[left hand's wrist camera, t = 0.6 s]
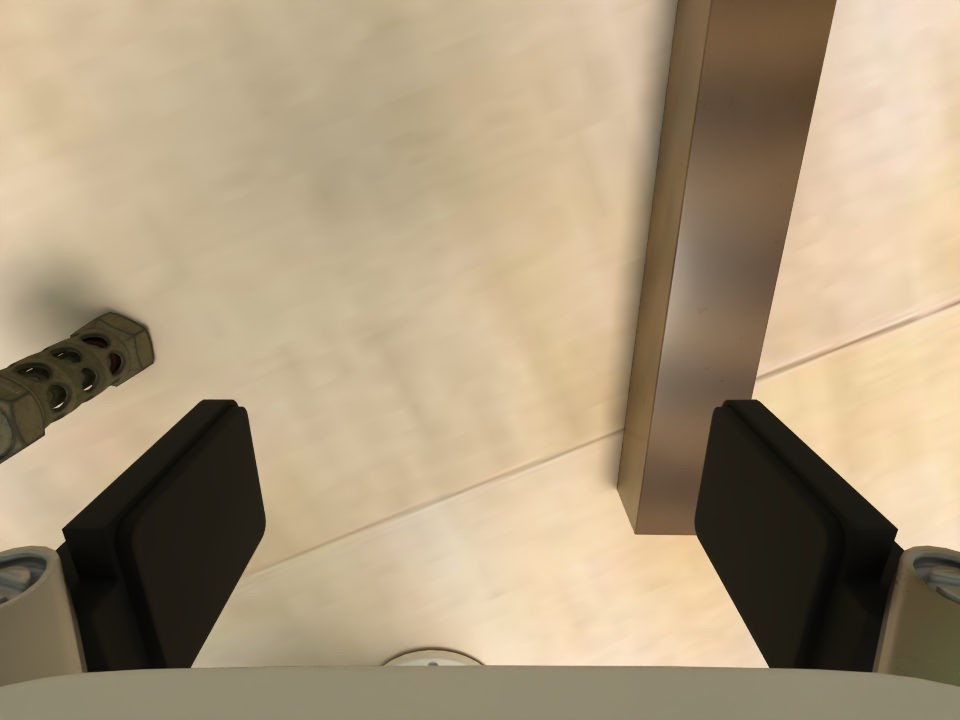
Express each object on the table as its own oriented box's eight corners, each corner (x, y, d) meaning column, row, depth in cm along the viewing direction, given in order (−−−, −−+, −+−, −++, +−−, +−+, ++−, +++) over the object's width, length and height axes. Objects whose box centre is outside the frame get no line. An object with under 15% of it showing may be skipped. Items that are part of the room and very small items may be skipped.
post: (694, 490, 44) (722, 536, 39) (616, 489, 44) (634, 535, 39) (885, -545, 24) (993, -729, 19) (745, -549, 24) (816, -733, 19)
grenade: (119, 277, 37) (-97, 355, 23) (178, 347, 39) (10, 459, 25) (27, 340, 39) (-229, 449, 25) (87, 404, 41) (-119, 539, 27)
